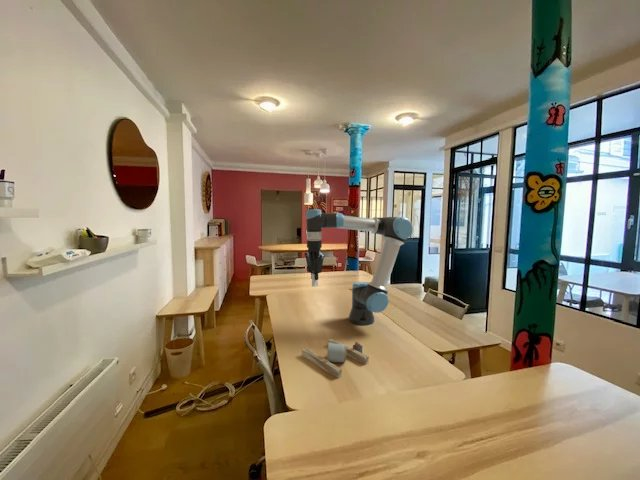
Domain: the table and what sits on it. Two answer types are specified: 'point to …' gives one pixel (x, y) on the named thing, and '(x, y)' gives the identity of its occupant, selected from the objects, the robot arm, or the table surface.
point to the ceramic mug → (336, 352)
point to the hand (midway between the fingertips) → (314, 285)
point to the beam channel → (331, 368)
